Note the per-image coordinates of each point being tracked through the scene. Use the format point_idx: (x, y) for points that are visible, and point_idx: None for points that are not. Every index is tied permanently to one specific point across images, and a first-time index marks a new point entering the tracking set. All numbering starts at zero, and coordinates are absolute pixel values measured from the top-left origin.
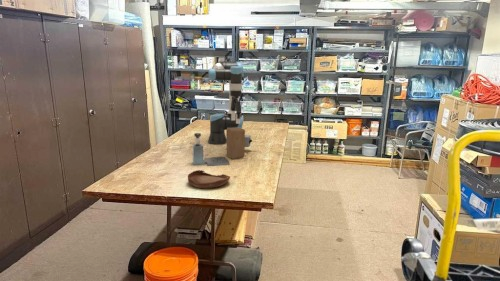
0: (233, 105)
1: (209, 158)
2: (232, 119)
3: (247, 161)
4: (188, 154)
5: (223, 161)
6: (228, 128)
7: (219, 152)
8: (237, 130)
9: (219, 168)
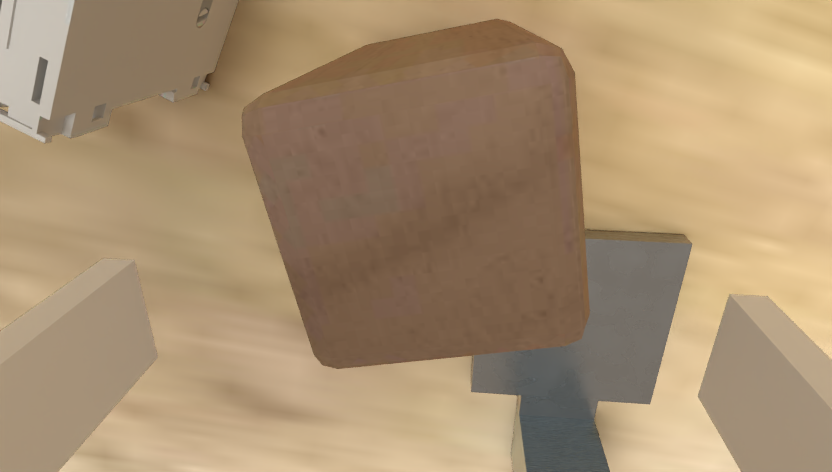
0: None
1: (504, 362)
2: (134, 353)
3: (656, 30)
4: (287, 441)
5: (641, 284)
6: (376, 356)
7: (248, 219)
8: (580, 238)
9: None
